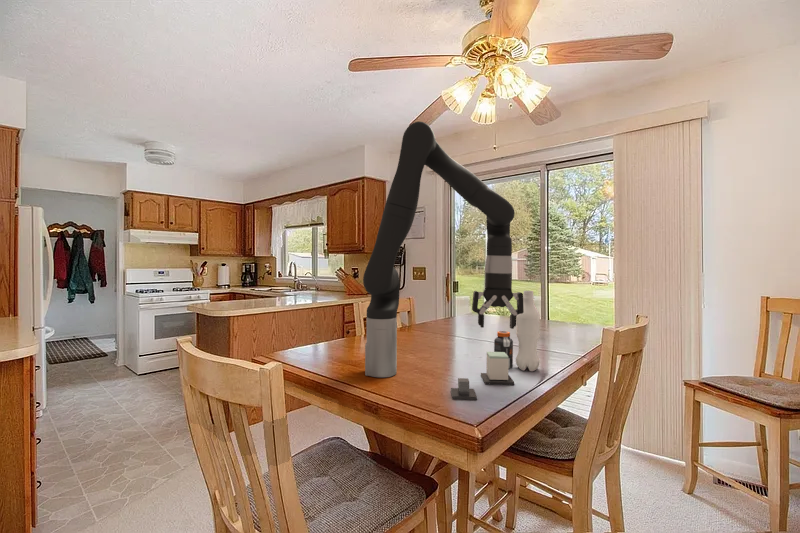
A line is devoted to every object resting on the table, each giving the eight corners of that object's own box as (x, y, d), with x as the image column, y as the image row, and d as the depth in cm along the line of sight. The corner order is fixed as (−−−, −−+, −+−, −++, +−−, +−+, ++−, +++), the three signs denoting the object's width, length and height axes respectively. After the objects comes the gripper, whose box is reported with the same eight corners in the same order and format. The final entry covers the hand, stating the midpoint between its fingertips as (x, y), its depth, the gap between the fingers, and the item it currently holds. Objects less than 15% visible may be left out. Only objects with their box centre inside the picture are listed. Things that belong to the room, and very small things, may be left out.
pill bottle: (513, 369, 120) (513, 333, 120) (494, 368, 121) (494, 333, 121) (511, 364, 126) (512, 330, 125) (493, 363, 127) (493, 329, 127)
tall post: (485, 384, 105) (485, 359, 105) (480, 375, 113) (480, 352, 113) (514, 385, 104) (514, 360, 104) (507, 376, 112) (508, 353, 112)
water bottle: (514, 370, 118) (515, 291, 117) (516, 365, 124) (517, 289, 124) (539, 373, 115) (540, 292, 115) (539, 367, 122) (540, 290, 121)
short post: (452, 399, 93) (452, 383, 93) (450, 391, 99) (450, 376, 99) (476, 400, 93) (477, 384, 93) (473, 391, 99) (473, 376, 99)
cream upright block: (489, 379, 106) (489, 356, 106) (486, 373, 111) (486, 351, 111) (508, 379, 106) (508, 356, 106) (504, 374, 111) (504, 352, 111)
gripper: (475, 271, 105) (473, 329, 105) (527, 272, 104) (525, 331, 104) (471, 270, 112) (470, 324, 113) (520, 271, 111) (518, 326, 112)
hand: (496, 327), depth 108 cm, fingers open, 8 cm apart
